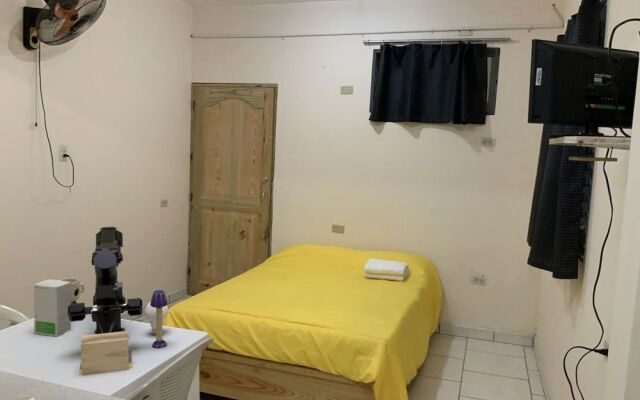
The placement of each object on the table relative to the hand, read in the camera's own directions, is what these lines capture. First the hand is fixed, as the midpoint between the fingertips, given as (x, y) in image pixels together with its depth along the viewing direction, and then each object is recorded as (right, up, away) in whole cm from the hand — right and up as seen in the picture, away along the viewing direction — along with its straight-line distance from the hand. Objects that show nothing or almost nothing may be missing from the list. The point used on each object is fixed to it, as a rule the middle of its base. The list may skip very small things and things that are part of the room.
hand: (106, 338), depth 134 cm
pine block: (+1, -7, -3) cm, 7 cm away
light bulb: (+7, -5, +20) cm, 22 cm away
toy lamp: (+11, -6, +11) cm, 16 cm away
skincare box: (-25, -4, +20) cm, 32 cm away
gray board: (0, -7, 0) cm, 6 cm away
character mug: (-25, -2, +31) cm, 40 cm away
